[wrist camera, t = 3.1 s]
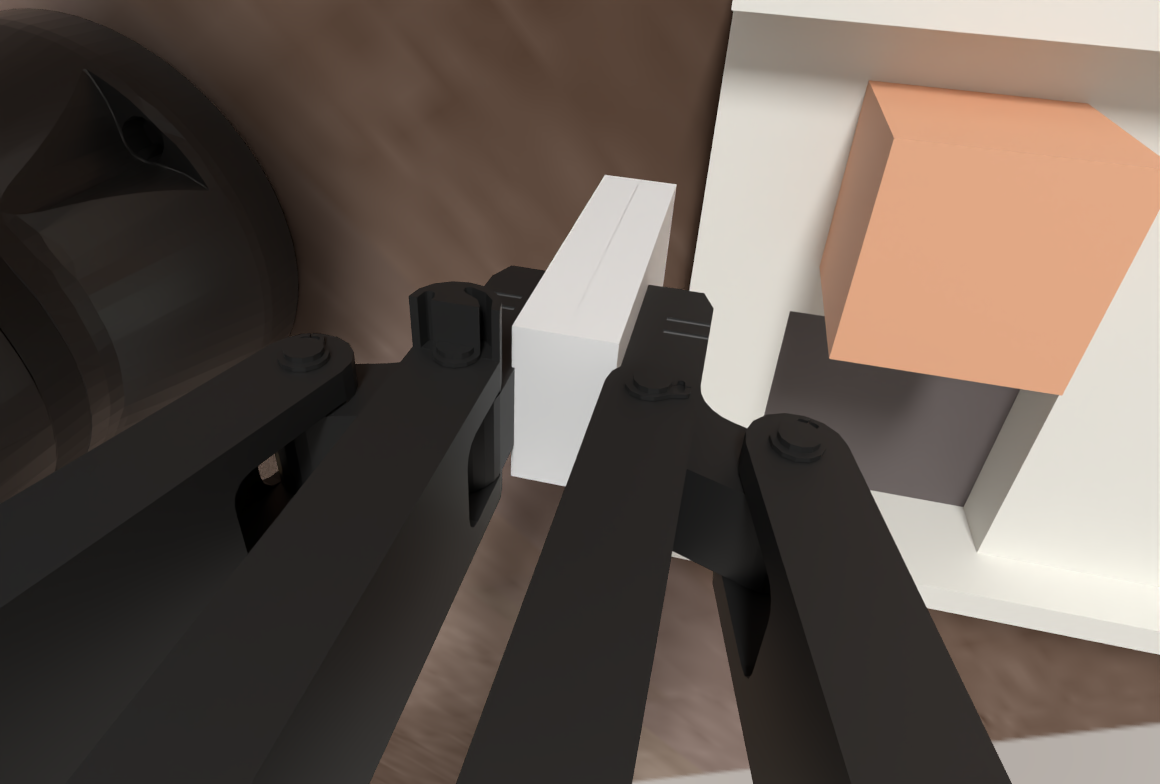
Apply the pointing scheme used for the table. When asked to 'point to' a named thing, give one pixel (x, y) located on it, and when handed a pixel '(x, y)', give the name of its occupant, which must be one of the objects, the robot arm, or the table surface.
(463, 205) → the table surface
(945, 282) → the block
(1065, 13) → the box
